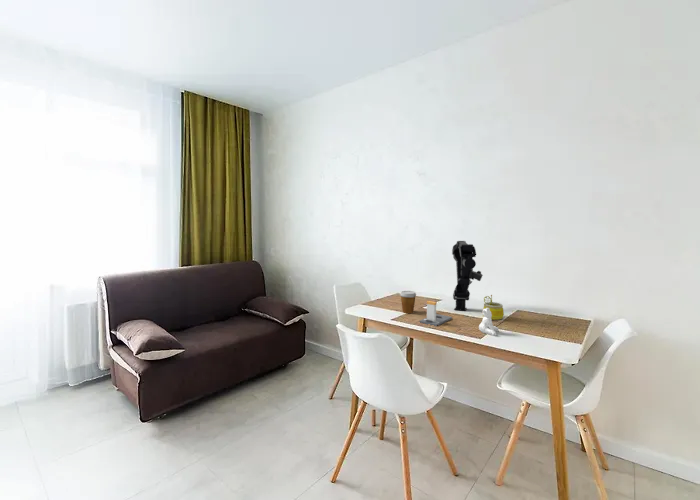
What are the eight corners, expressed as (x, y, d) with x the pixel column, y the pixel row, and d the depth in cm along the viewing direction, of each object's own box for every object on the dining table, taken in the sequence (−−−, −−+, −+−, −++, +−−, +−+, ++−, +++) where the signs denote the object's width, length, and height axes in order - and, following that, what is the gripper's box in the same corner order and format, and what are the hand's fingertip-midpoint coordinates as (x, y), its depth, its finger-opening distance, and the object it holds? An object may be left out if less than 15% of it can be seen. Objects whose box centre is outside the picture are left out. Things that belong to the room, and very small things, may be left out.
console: (435, 315, 195) (435, 312, 195) (452, 318, 188) (452, 315, 188) (419, 322, 182) (419, 318, 182) (436, 326, 175) (436, 322, 175)
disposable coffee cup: (415, 310, 207) (415, 290, 206) (416, 314, 197) (417, 294, 196) (399, 309, 208) (399, 290, 207) (400, 314, 198) (400, 293, 197)
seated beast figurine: (495, 336, 159) (496, 311, 158) (476, 333, 164) (477, 309, 163) (498, 331, 167) (499, 307, 166) (480, 328, 172) (481, 305, 171)
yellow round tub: (505, 321, 183) (506, 299, 182) (484, 320, 185) (485, 298, 184) (500, 314, 196) (501, 294, 195) (480, 314, 198) (480, 293, 197)
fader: (428, 319, 184) (428, 300, 183) (436, 320, 180) (436, 302, 180) (426, 320, 182) (426, 301, 181) (434, 321, 179) (434, 302, 178)
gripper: (479, 269, 178) (478, 298, 179) (483, 265, 195) (482, 292, 196) (457, 268, 183) (457, 296, 184) (463, 264, 200) (462, 290, 201)
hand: (465, 294), depth 191 cm, fingers closed
